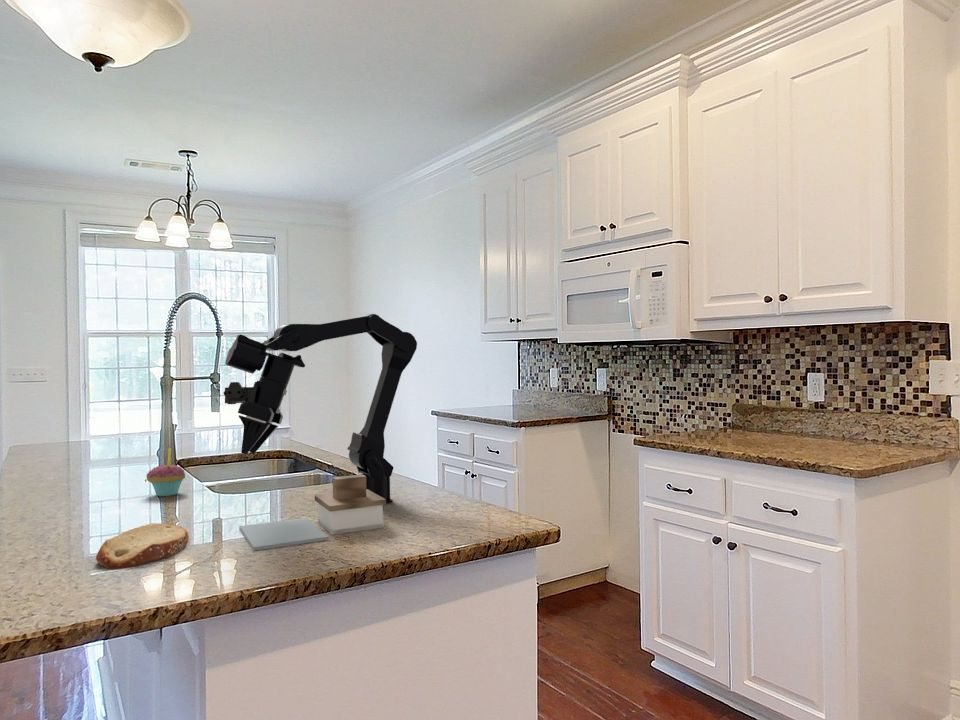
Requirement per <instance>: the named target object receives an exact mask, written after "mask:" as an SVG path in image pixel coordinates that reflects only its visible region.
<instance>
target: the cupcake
mask: <svg viewBox="0 0 960 720" xmlns="http://www.w3.org/2000/svg"><path fill="white" fill-rule="evenodd" d="M171 446H172V445H169V448H168V450H167V464H163V465H158V466H155V467H154V468H153V467H152V469H150V470H149V471H148V472H147V473H146V476H145V477H146V481H147V482H148V483H151V485H152V487H153V490H154V493H155V495H156V496H158V497H169V496H170V497H171V496H174V495H177V494H179V490H180V487H181V485H182V482H183V480H184V479H186V473H185V470H184V469H183V468H182V467H181V466H179V465H176V464H171V460H172V459H171V457H172V447H171Z"/></svg>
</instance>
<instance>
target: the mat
mask: <svg viewBox="0 0 960 720" xmlns="http://www.w3.org/2000/svg"><path fill="white" fill-rule="evenodd" d="M238 527H239V531H240V532H241V534H242V535H243V537H244V538H245V540H246V541H247V543H248V545H250V547H251V549H252V550H253V552H254V551H261V550H267V549H273V548H274V549H275V548H282V547H289V546H296V545H302V544H303V545H304V544H309V543H316V542H322V541H329V535H327V534H326V533H325V532H324V531H323V530H321V529H320V528H319V527H318V525H316V524H315V523H313V522H312V521H311V519H309V518H308V517H301V518H293V519H286V520H285V519H284V520H278V521H269V522H263V523H253V524H246V525H239V526H238Z"/></svg>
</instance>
